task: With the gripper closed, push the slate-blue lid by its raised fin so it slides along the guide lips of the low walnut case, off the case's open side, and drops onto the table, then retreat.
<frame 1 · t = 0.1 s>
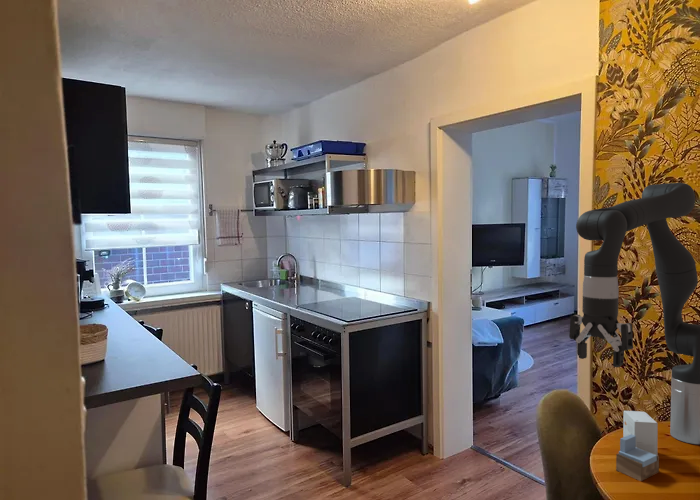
hand: (599, 362, 111), 29 cm above the table, tool pointing down, fingers open, 8 cm apart
small box: (639, 455, 126), on the table
case: (637, 471, 117), on the table
lid: (637, 458, 117), point 3 cm above the table, touching case
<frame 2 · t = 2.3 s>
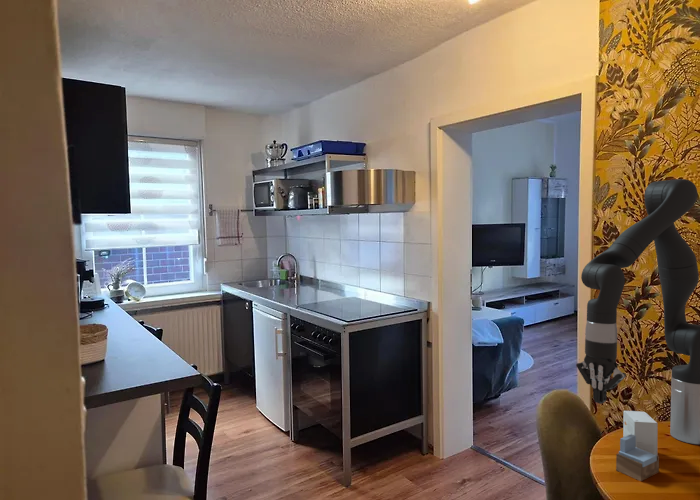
hand: (599, 402, 125), 14 cm above the table, tool pointing down, fingers closed
nothing on the table moved.
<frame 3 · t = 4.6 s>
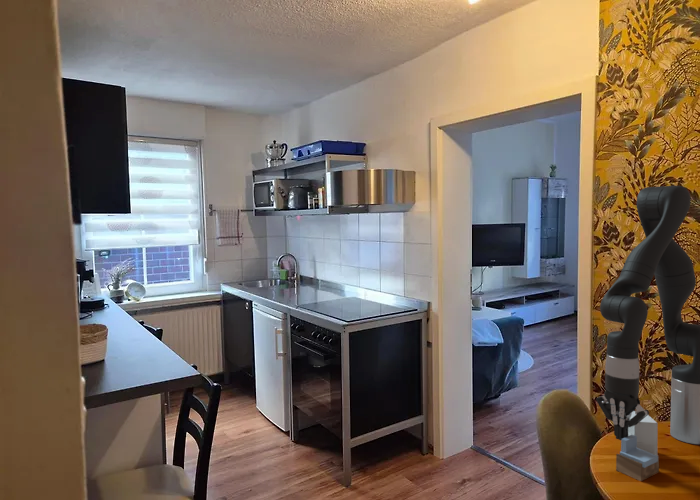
hand: (620, 439, 120), 7 cm above the table, tool pointing down, fingers closed
lid: (638, 459, 117), point 3 cm above the table, touching case, gripper
everything else where it was.
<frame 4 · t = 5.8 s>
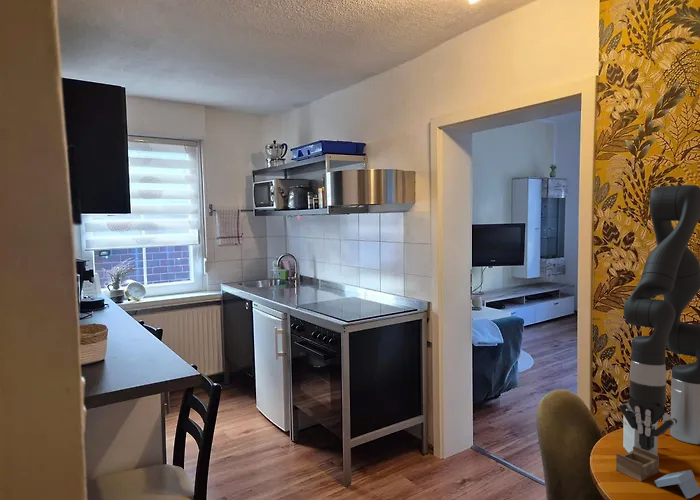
hand: (646, 448, 115), 7 cm above the table, tool pointing down, fingers closed
lid: (672, 475, 110), point 3 cm above the table, tilted 146°
everything else where it was.
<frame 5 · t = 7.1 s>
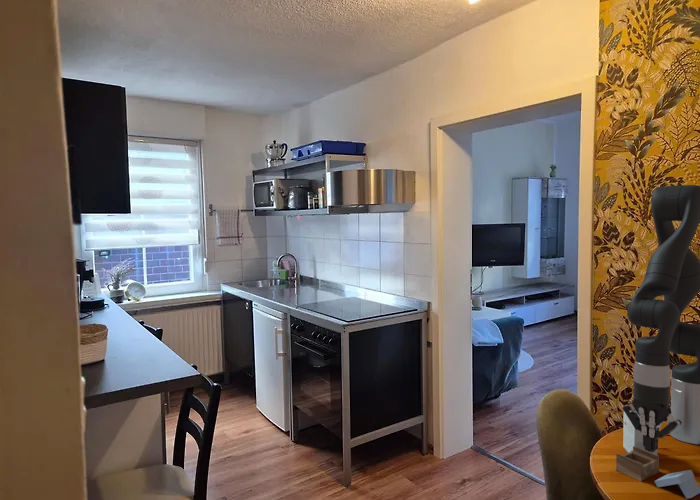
hand: (650, 450, 114), 7 cm above the table, tool pointing down, fingers closed
nothing on the table moved.
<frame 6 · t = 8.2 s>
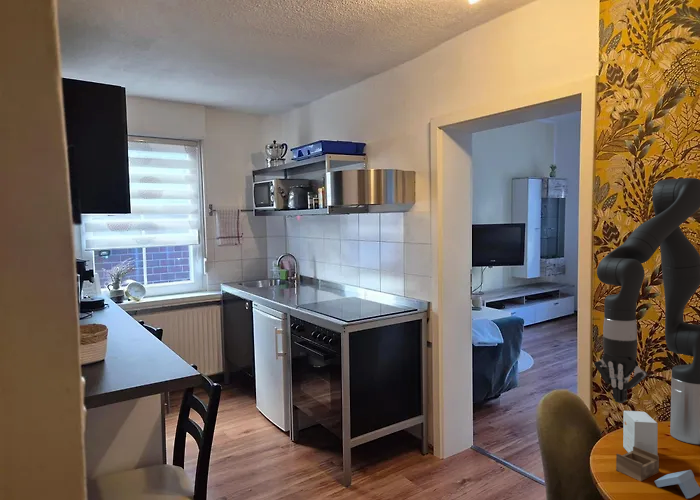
hand: (619, 401, 120), 16 cm above the table, tool pointing down, fingers closed
nothing on the table moved.
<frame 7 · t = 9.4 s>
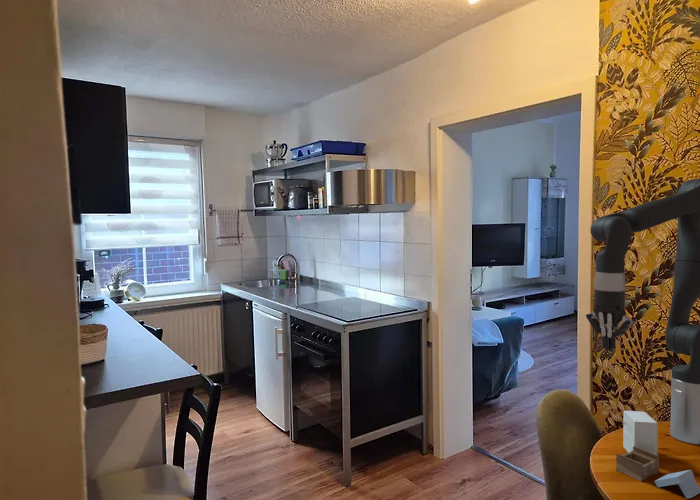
hand: (608, 349, 131), 27 cm above the table, tool pointing down, fingers closed
nothing on the table moved.
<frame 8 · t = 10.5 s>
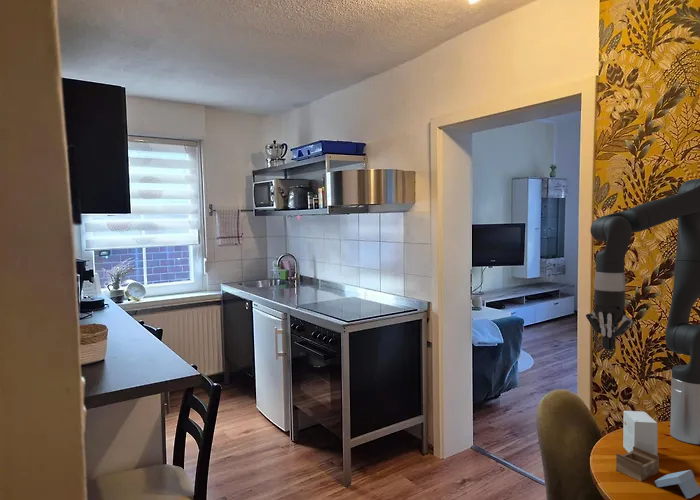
hand: (608, 349, 131), 27 cm above the table, tool pointing down, fingers closed
nothing on the table moved.
at the end: lid inside the target area (0.5 cm from its centre), point 2.8 cm above the table; lid moved 8.1 cm from its start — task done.
